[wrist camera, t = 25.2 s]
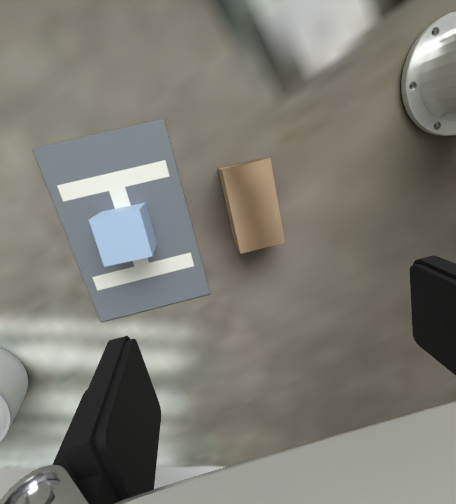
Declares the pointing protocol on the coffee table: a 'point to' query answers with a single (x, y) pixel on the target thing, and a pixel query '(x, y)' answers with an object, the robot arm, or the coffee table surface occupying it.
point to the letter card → (121, 195)
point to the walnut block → (252, 204)
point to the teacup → (10, 389)
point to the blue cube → (124, 234)
